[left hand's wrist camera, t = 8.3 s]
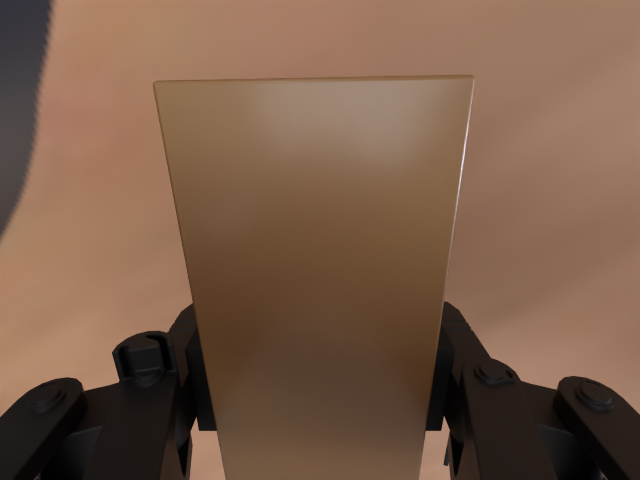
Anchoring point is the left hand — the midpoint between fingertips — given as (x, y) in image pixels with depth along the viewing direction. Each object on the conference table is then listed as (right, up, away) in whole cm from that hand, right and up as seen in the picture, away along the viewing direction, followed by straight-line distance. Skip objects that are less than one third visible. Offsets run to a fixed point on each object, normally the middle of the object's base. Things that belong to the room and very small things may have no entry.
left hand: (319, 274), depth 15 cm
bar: (+1, -28, +12) cm, 31 cm away
